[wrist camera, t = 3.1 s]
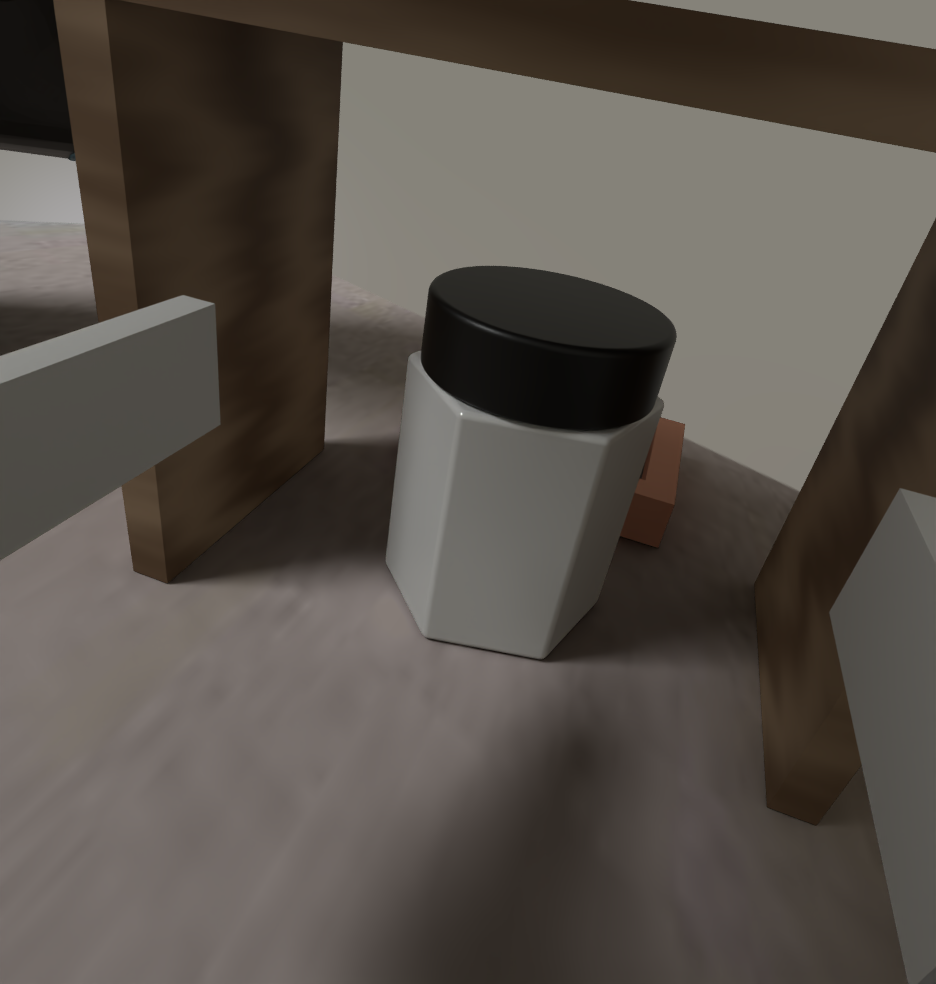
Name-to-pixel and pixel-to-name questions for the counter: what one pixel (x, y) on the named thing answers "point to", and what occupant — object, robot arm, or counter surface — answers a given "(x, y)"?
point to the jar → (520, 452)
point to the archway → (309, 255)
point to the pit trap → (656, 486)
